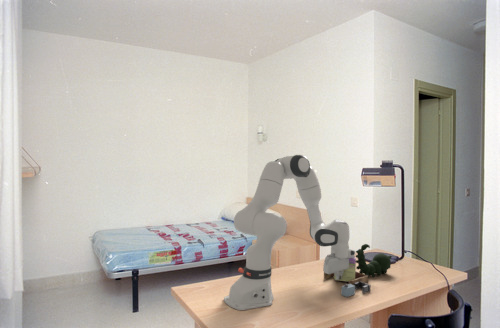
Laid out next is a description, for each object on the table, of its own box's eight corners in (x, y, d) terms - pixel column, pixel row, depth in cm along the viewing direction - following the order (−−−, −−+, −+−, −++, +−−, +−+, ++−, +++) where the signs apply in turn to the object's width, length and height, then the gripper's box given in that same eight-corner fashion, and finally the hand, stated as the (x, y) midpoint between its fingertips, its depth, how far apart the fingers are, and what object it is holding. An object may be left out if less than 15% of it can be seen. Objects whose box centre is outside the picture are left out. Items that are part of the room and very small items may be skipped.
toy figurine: (365, 283, 183) (398, 273, 194) (364, 248, 182) (397, 239, 193) (352, 277, 192) (385, 267, 203) (351, 243, 190) (384, 235, 201)
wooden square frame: (350, 289, 170) (350, 281, 170) (323, 278, 184) (324, 271, 184) (368, 283, 179) (368, 275, 179) (341, 273, 193) (342, 266, 192)
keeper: (364, 293, 166) (364, 287, 166) (353, 289, 171) (353, 283, 171) (370, 291, 169) (370, 285, 169) (359, 287, 174) (360, 281, 174)
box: (354, 280, 183) (355, 257, 184) (355, 282, 178) (355, 259, 179) (334, 277, 186) (335, 255, 187) (334, 280, 180) (335, 257, 181)
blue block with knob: (346, 297, 161) (346, 286, 161) (341, 294, 163) (341, 284, 163) (354, 294, 164) (355, 283, 164) (349, 292, 167) (349, 281, 167)
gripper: (330, 257, 169) (329, 285, 169) (357, 250, 181) (356, 277, 181) (320, 253, 174) (319, 281, 175) (347, 248, 186) (346, 273, 186)
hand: (338, 279), depth 178 cm, fingers closed
